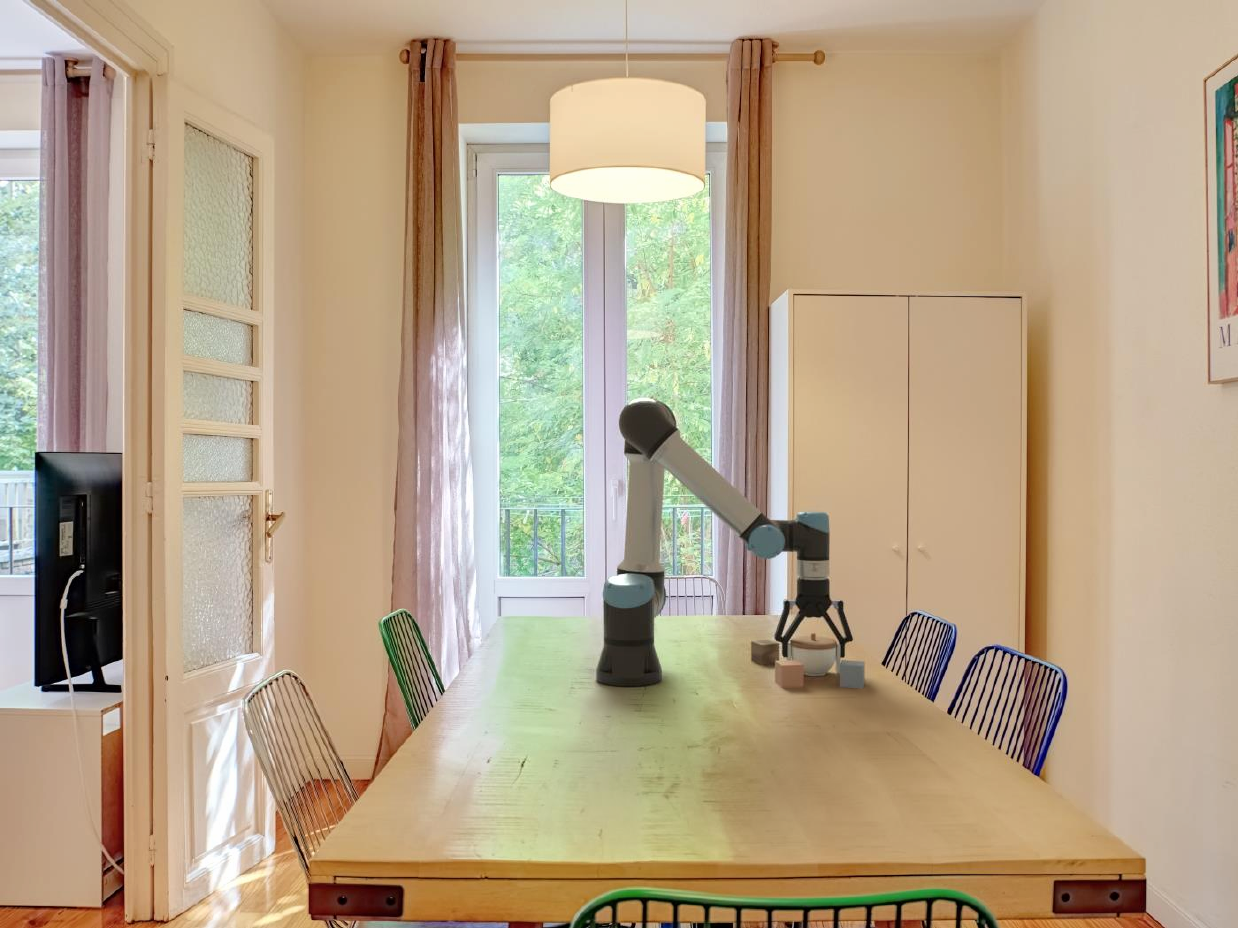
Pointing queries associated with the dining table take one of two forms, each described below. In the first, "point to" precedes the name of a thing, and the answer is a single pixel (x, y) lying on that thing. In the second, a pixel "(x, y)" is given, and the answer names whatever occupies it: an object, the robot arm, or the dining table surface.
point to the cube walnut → (764, 652)
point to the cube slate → (852, 674)
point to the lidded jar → (814, 653)
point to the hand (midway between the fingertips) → (813, 671)
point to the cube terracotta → (789, 673)
